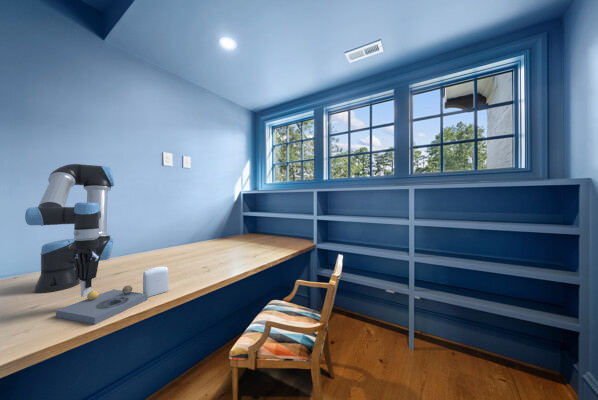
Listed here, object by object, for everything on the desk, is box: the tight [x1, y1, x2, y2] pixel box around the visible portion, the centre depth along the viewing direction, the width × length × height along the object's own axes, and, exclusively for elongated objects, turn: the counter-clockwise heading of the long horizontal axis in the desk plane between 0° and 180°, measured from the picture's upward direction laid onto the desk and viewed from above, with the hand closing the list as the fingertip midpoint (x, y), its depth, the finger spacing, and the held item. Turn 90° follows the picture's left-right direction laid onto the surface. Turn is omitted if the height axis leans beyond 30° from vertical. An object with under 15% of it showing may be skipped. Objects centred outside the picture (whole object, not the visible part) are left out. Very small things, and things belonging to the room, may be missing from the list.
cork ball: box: [122, 285, 133, 294], centre depth 96 cm, size 4×4×4 cm
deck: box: [55, 289, 149, 326], centre depth 88 cm, size 20×20×2 cm
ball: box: [86, 290, 100, 300], centre depth 90 cm, size 4×4×4 cm
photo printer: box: [142, 266, 169, 298], centre depth 102 cm, size 10×4×12 cm, turn 140°
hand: (86, 295), depth 91 cm, fingers closed
